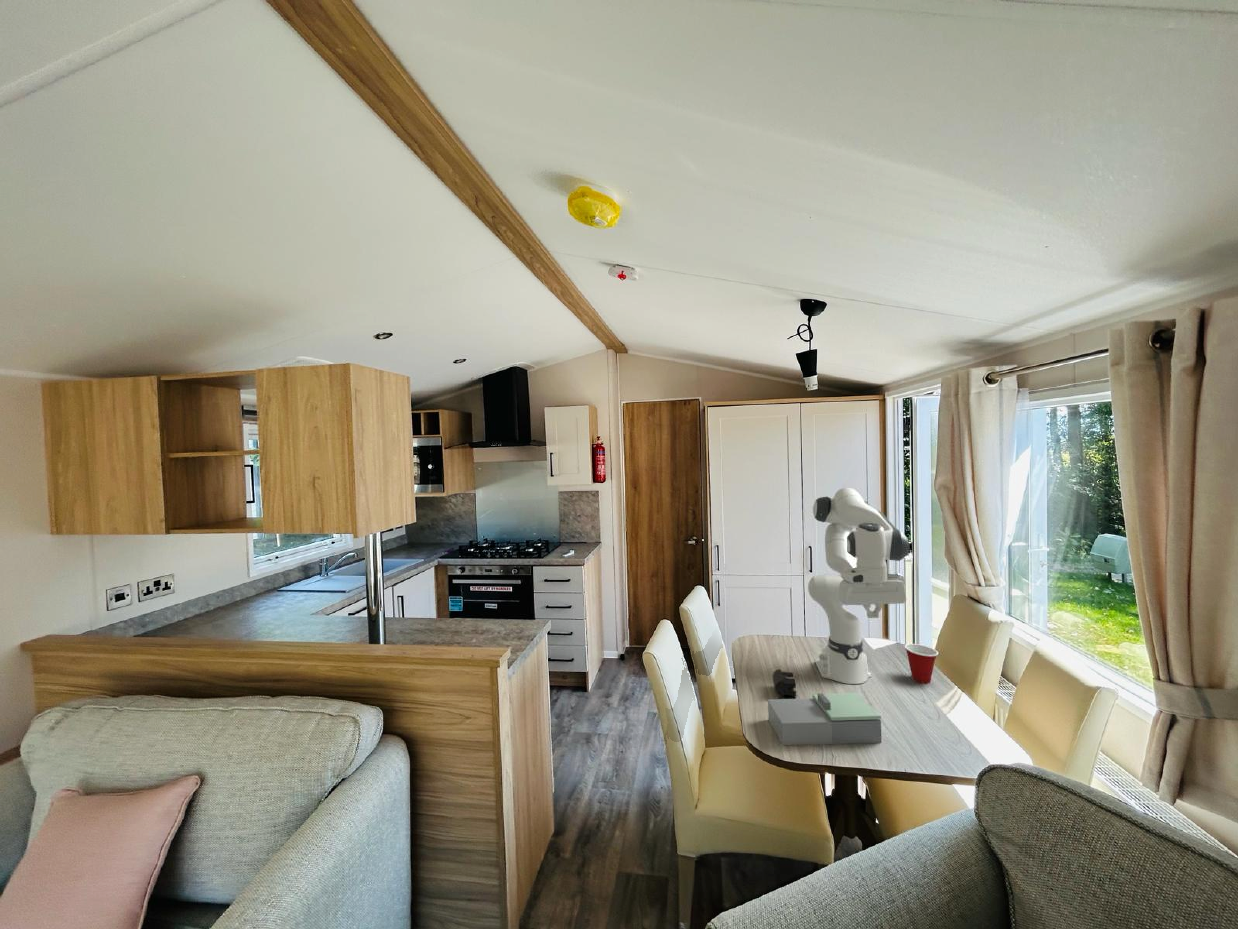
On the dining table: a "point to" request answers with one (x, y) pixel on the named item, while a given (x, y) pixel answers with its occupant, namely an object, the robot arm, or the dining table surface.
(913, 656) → the plastic cup
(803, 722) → the box
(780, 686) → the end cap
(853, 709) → the lid
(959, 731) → the dining table surface
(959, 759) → the dining table surface
